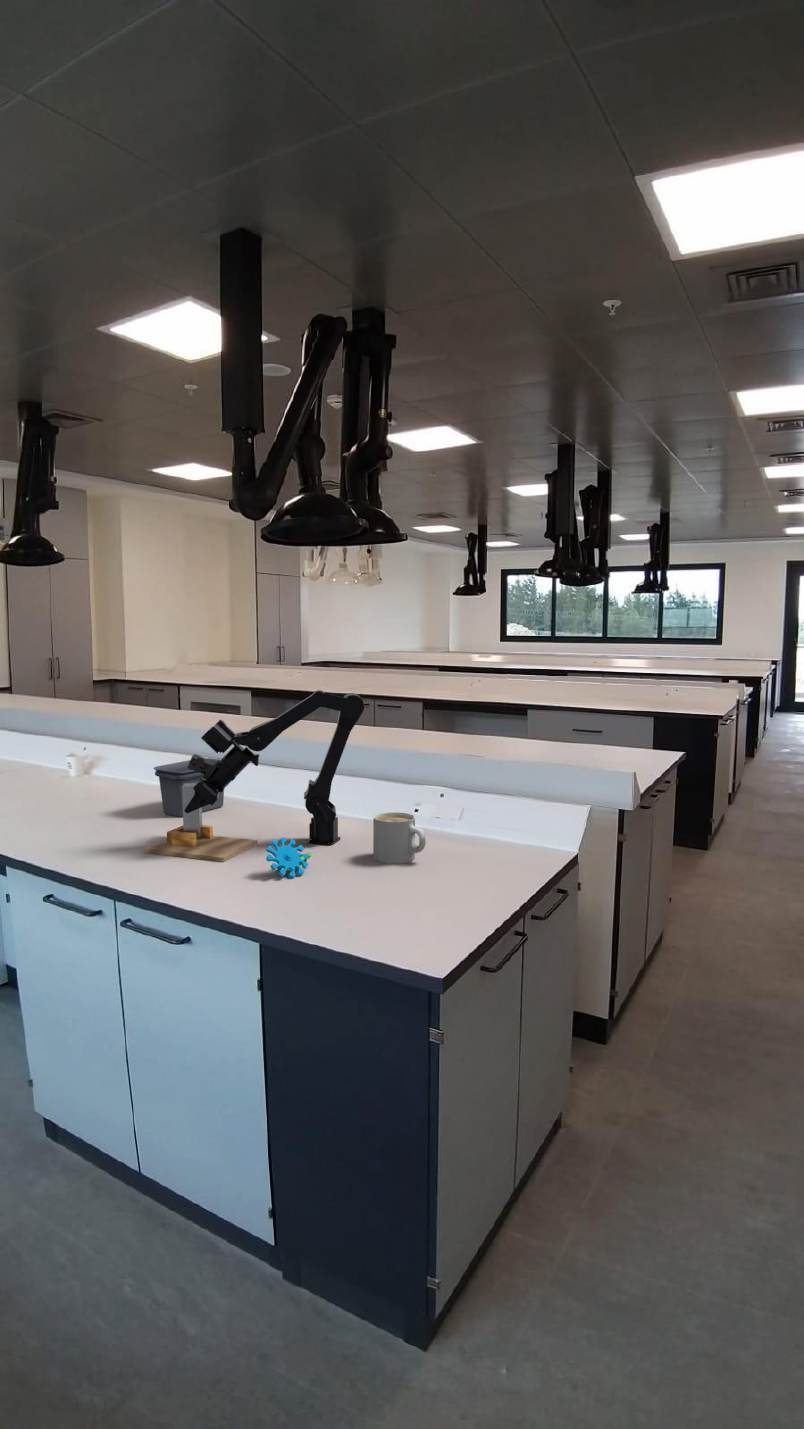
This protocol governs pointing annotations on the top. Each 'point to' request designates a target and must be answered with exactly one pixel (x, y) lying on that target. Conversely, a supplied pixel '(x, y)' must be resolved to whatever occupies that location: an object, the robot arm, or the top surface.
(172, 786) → the storage bin
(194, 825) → the link bar
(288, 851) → the gear
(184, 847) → the plate
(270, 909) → the top surface
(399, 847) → the coffee mug
